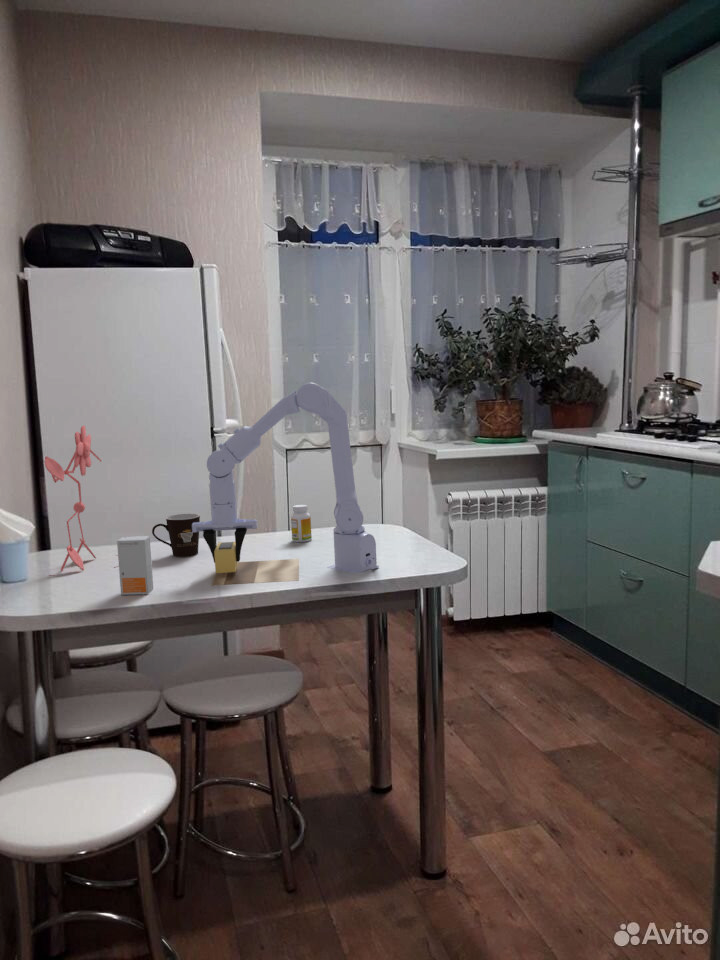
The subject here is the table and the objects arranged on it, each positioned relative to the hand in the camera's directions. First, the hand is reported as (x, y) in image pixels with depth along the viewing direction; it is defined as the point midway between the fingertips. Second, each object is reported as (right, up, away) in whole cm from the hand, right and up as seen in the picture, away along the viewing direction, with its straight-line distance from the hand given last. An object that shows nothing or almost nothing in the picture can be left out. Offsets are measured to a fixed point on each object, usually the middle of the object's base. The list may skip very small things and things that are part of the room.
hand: (227, 561), depth 173 cm
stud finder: (0, -2, 0) cm, 2 cm away
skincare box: (-17, -6, -11) cm, 21 cm away
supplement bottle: (+14, +2, +35) cm, 38 cm away
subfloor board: (+7, -3, +1) cm, 8 cm away
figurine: (-36, -3, +16) cm, 40 cm away
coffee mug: (-17, -1, +24) cm, 29 cm away
